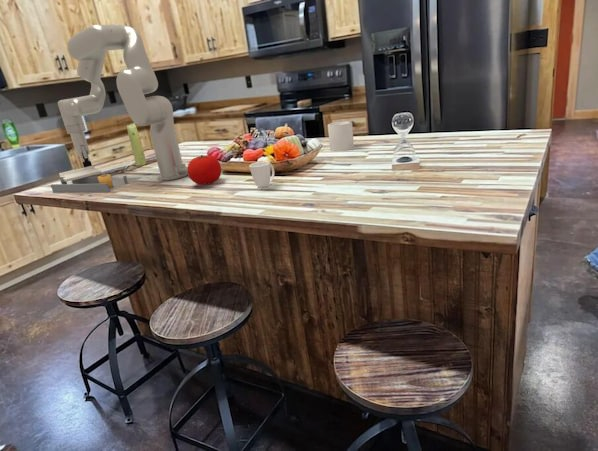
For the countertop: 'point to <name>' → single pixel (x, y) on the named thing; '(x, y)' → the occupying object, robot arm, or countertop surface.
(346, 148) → the mug
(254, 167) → the cup
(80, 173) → the cover
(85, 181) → the grey tray
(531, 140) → the countertop surface
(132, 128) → the tube
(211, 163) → the tomato
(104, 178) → the orange cube
